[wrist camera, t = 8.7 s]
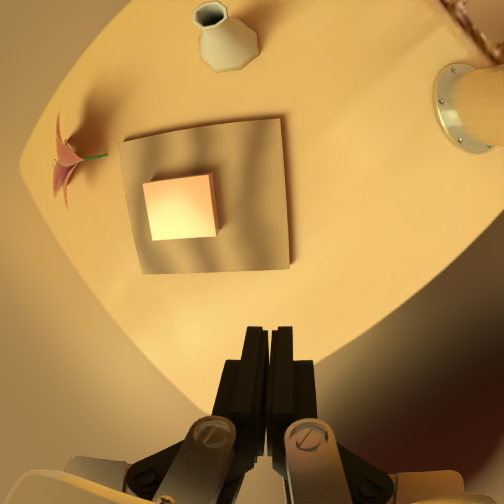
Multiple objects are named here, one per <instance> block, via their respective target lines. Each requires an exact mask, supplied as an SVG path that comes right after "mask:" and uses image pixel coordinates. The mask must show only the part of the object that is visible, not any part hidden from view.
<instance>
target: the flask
mask: <svg viewBox="0 0 504 504" xmlns="http://www.w3.org/2000/svg"><path fill="white" fill-rule="evenodd" d="M192 13H193V23H194V24H195V25H197V26H198V27H199V28H200V29H202V31H201V34H200V37H199V44H200V57H201V59H202V60H203V61H204V62H205V63H206V64H207V65H209V66H210V67H211V68H212V69H213V70H214V71H215V72H216V73H217V72H224V71H231V70H239V69H242V68H243V67H244V66H245V65H247V64H248V63H249V62H250V61H252V60H253V59H254V58H255V57H257V56H258V55H259V47H258V38H257V34H256V33H255V32H254V31H253V30H252V29H251V28H249V27H248V26H247V25H246V24H245V23H243V22H242V21H241V20H238V19H234V18H231V17H228V11H227V7H226V6H224V5H223V4H222V3H220V2H219V1H217V0H216V1H211V2H206V3H202V4H201V5H200V6H199V7H197V8H196V9H195V10H194V11H192Z"/></svg>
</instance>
